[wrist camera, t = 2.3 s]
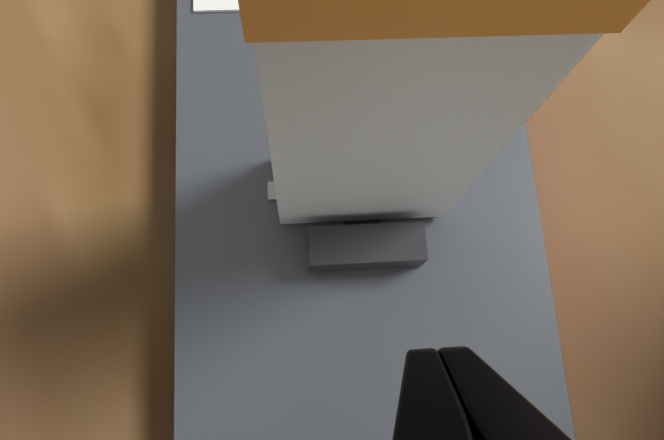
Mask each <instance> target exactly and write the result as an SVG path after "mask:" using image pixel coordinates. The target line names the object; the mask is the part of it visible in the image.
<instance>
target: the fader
mask: <svg viewBox="0 0 664 440" xmlns="http://www.w3.org/2000/svg"><path fill="white" fill-rule="evenodd" d="M649 1H650V0H238V5H239V10H240V16H241V22H242V28H243V34H244V40H245V43H254V44H255V51H256V58H257V65H258V72H259V79H260V86H261V93H262V100H263V108H264V115H265V122H266V129H267V136H268V143H269V150H270V157H271V164H272V171H273V178H274V185H275V192H276V199H277V206H278V213H279V221H280V224H296V223H318V222H339V221H361V220H382V219H403V218H425V217H443V215H444V214H445V213H446V212H447V211H448V210H449V209H450V207H451V206H452V205H453V204H454V203H455V202H456V201H457V200H458V198H459V197H460V196H461V195H462V194H463V193H464V192H465V190H466V189H467V188H468V187H469V186H470V185H471V184H472V183H473V181H474V180H475V179H476V178H477V177H478V176H479V175H480V173H481V172H482V171H483V170H484V169H485V168H486V167H487V166H488V164H489V163H490V162H491V161H492V160H493V159H494V158H495V156H496V155H497V154H498V153H499V152H500V151H501V150H502V149H503V147H504V146H505V145H506V144H507V143H508V142H509V141H510V139H511V138H512V137H513V136H514V135H515V134H516V133H517V132H518V130H519V129H520V128H521V127H522V126H523V125H524V124H525V122H526V121H527V120H528V119H529V118H530V117H531V116H532V115H533V113H534V112H535V111H536V110H537V109H538V108H539V107H540V105H541V104H542V103H543V102H544V101H545V100H546V99H547V98H548V96H549V95H550V94H551V93H552V92H553V91H554V90H555V88H556V87H557V86H558V85H559V84H560V83H561V82H562V81H563V79H564V78H565V77H566V76H567V75H568V74H569V73H570V71H571V70H572V69H573V68H574V67H575V66H576V65H577V64H578V62H579V61H580V60H581V59H582V58H583V57H584V56H585V54H586V53H587V52H588V51H589V50H590V49H591V48H592V47H593V45H594V44H595V43H596V42H597V41H598V40H599V39H600V37H601V36H602V35H603V34H604V33H620V32H621V31H622V30H623V29H624V28H625V27H626V26H627V25H628V24H629V23H630V22H631V20H632V19H633V18H634V17H635V16H636V15H637V14H638V13H639V12H640V11H641V10H642V9H643V8H644V6H645V5H646V4H647V3H648V2H649Z"/></svg>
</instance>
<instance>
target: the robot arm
mask: <svg viewBox="0 0 664 440" xmlns="http://www.w3.org/2000/svg"><path fill="white" fill-rule="evenodd" d="M392 440H572V439H571V438H569V437H568V436H567V435H566V434H565V433H564V432H563V431H562V430H561V429H559V428H558V427H557V426H556V425H555V424H554V423H553V422H552V421H551V420H549V419H548V418H547V417H546V416H545V415H544V414H543V413H542V412H541V411H539V410H538V409H537V408H536V407H535V406H534V405H533V404H532V403H531V402H529V401H528V400H527V399H526V398H525V397H524V396H523V395H522V394H520V393H519V392H518V391H517V390H516V389H515V388H514V387H513V386H512V385H510V384H509V383H508V382H507V381H506V380H505V379H504V378H503V377H502V376H500V375H499V374H498V373H497V372H496V371H495V370H494V369H493V368H492V367H490V366H489V365H488V364H487V363H486V362H485V361H484V360H483V359H482V358H480V357H479V356H478V355H477V354H476V353H475V352H474V351H473V350H471V349H470V348H468V347H466V346H456V347H442V348H440V349H439V350H438V351H437V350H436V349H434V348H423V349H410V350H408V352H407V354H406V358H405V365H404V371H403V377H402V383H401V389H400V395H399V401H398V407H397V413H396V419H395V426H394V432H393V438H392Z"/></svg>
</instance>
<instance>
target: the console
mask: <svg viewBox="0 0 664 440" xmlns="http://www.w3.org/2000/svg"><path fill="white" fill-rule="evenodd" d="M456 346H466V347H468V348H470V349H471V350H473V351H474V352H475V353H476V354H477V355H478V356H479V357H480V358H482V359H483V360H484V361H485V362H486V363H487V364H488V365H489V366H490V367H492V368H493V369H494V370H495V371H496V372H497V373H498V374H499V375H500V376H502V377H503V378H504V379H505V380H506V381H507V382H508V383H509V384H510V385H512V386H513V387H514V388H515V389H516V390H517V391H518V392H519V393H520V394H522V395H523V396H524V397H525V398H526V399H527V400H528V401H529V402H531V403H532V404H533V405H534V406H535V407H536V408H537V409H538V410H539V411H541V412H542V413H543V414H544V415H545V416H546V417H547V418H548V419H549V420H551V421H552V422H553V423H554V424H555V425H556V426H557V427H558V428H559V429H561V430H562V431H563V432H564V433H565V434H566V435H567V436H568V437H569V438H571V439H572V440H575V434H574V427H573V421H572V415H571V408H570V402H569V396H568V389H567V383H566V376H565V370H564V364H563V357H562V351H561V345H560V338H559V332H558V326H557V319H556V313H555V306H554V300H553V294H552V287H551V281H550V275H549V268H548V262H547V255H546V249H545V243H544V236H543V230H542V224H541V217H540V211H539V204H538V198H537V192H536V185H535V179H534V173H533V166H532V160H531V153H530V147H529V141H528V134H527V128H526V122H525V124H524V125H523V126H522V127H521V128H520V129H519V130H518V132H517V133H516V134H515V135H514V136H513V137H512V138H511V139H510V141H509V142H508V143H507V144H506V145H505V146H504V147H503V149H502V150H501V151H500V152H499V153H498V154H497V155H496V156H495V158H494V159H493V160H492V161H491V162H490V163H489V164H488V166H487V167H486V168H485V169H484V170H483V171H482V172H481V173H480V175H479V176H478V177H477V178H476V179H475V180H474V181H473V183H472V184H471V185H470V186H469V187H468V188H467V189H466V190H465V192H464V193H463V194H462V195H461V196H460V197H459V198H458V200H457V201H456V202H455V203H454V204H453V205H452V206H451V207H450V209H449V210H448V211H447V212H446V213H445V214H444V215H443V217H425V218H403V219H382V220H361V221H339V222H318V223H296V224H280V221H279V213H278V206H277V199H276V192H275V185H274V178H273V171H272V164H271V157H270V150H269V143H268V136H267V129H266V122H265V115H264V108H263V100H262V93H261V86H260V79H259V72H258V65H257V58H256V51H255V44H254V43H245V40H244V34H243V28H242V22H241V16H240V10H239V5H238V0H177V53H176V203H175V353H174V440H392V438H393V432H394V426H395V419H396V413H397V407H398V401H399V395H400V389H401V383H402V377H403V371H404V365H405V358H406V354H407V352H408V350H410V349H423V348H434V349H436V350H437V351H438V350H439V349H440V348H442V347H456Z"/></svg>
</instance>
